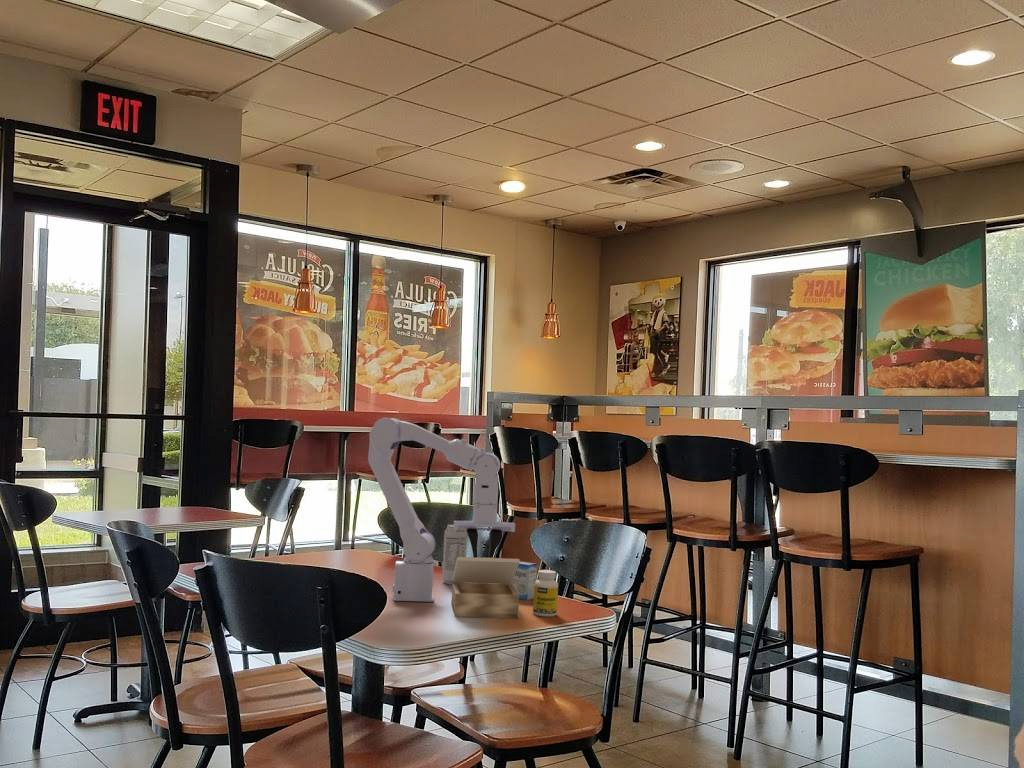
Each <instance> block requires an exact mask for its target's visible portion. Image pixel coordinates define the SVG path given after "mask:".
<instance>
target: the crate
mask: <svg viewBox="0 0 1024 768" xmlns="http://www.w3.org/2000/svg"><path fill="white" fill-rule="evenodd" d="M451 585H452V588H451V603H450V604H451V608H452V611H453V615H454V617H455V618H480V619H481V618H487V619H488V618H490V619H491V618H492V619H519V608H520V605H519V603H520V599H519V595H518V593H517V592H516V590H515V589H514V587H513V585H512V584H493V583H453V582H452V584H451Z"/></svg>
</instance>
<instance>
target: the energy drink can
mask: <svg viewBox="0 0 1024 768" xmlns="http://www.w3.org/2000/svg"><path fill="white" fill-rule="evenodd" d="M453 528H454V524H447V527H446V529H445V530H444V536H443V539H444V540H443V555H442V556H443V558H442V574H441V576H442V578H441V580H443V584H446V585H452V582H453V574H454V570H455V565H456V560H457V557H467V549H468V548H467V547H468V534H467V530H460V529H459V530H454V529H453ZM453 583H460V582H453Z"/></svg>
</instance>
